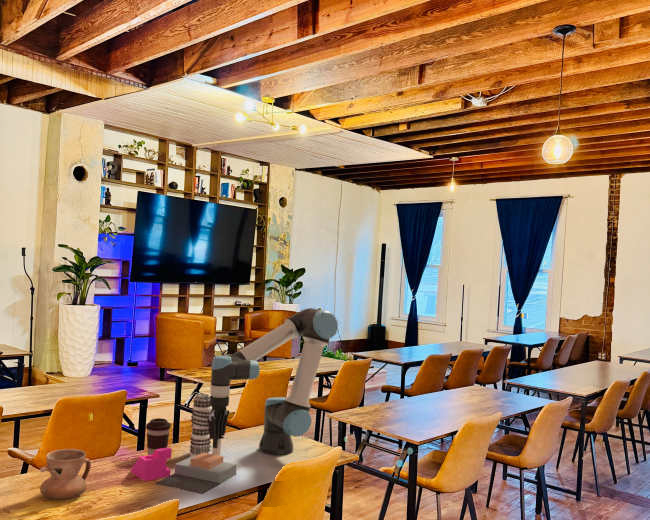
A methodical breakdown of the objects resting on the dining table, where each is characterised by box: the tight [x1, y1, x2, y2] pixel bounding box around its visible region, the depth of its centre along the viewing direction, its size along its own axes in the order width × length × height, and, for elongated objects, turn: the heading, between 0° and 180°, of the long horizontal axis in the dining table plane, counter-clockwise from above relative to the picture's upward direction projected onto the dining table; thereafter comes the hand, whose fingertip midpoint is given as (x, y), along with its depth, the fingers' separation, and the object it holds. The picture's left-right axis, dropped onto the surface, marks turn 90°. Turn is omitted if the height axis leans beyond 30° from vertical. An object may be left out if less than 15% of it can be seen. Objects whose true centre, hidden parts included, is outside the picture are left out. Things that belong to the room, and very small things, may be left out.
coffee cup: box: [145, 417, 172, 455], centre depth 251 cm, size 10×10×15 cm
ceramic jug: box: [39, 448, 92, 501], centre depth 205 cm, size 18×14×14 cm
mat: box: [155, 473, 228, 495], centre depth 224 cm, size 16×20×1 cm
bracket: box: [130, 446, 172, 482], centre depth 230 cm, size 12×10×10 cm
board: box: [173, 455, 238, 484], centre depth 232 cm, size 12×20×4 cm, turn 68°
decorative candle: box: [189, 393, 212, 457], centre depth 257 cm, size 9×9×25 cm
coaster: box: [190, 453, 224, 469], centre depth 233 cm, size 9×9×2 cm
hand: (216, 455), depth 239 cm, fingers closed
